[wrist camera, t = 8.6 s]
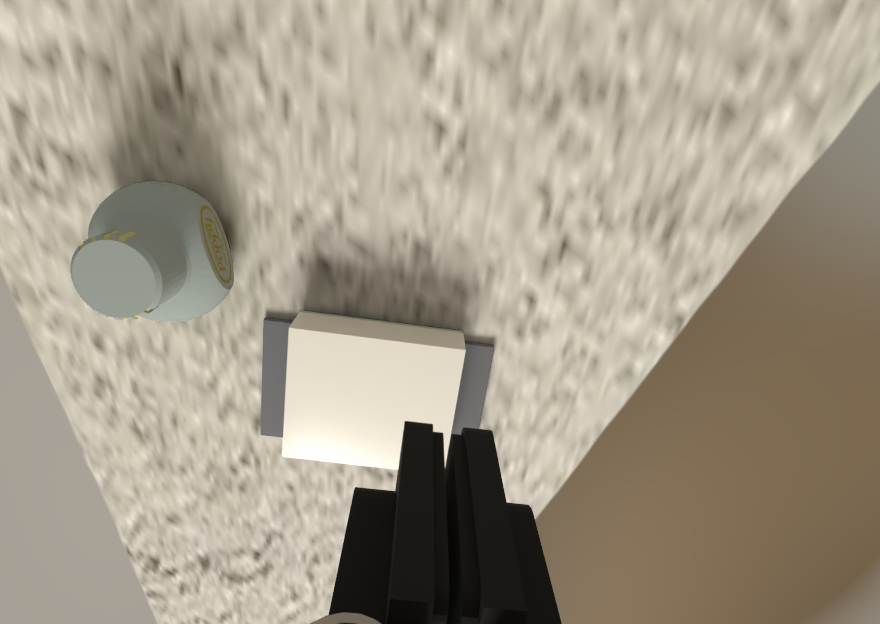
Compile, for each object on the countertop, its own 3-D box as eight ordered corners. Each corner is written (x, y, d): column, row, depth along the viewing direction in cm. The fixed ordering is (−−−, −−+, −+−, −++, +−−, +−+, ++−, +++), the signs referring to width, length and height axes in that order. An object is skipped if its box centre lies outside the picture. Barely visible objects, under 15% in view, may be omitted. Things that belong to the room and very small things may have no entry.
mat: (265, 317, 46) (263, 320, 46) (493, 344, 48) (493, 347, 47) (262, 431, 50) (260, 434, 50) (472, 453, 51) (473, 457, 51)
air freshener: (108, 187, 42) (16, 207, 33) (209, 169, 42) (145, 184, 33) (156, 314, 46) (86, 365, 37) (249, 298, 46) (202, 345, 36)
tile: (288, 327, 42) (281, 456, 46) (465, 350, 43) (443, 474, 47) (300, 310, 45) (293, 431, 50) (462, 331, 46) (442, 447, 50)
